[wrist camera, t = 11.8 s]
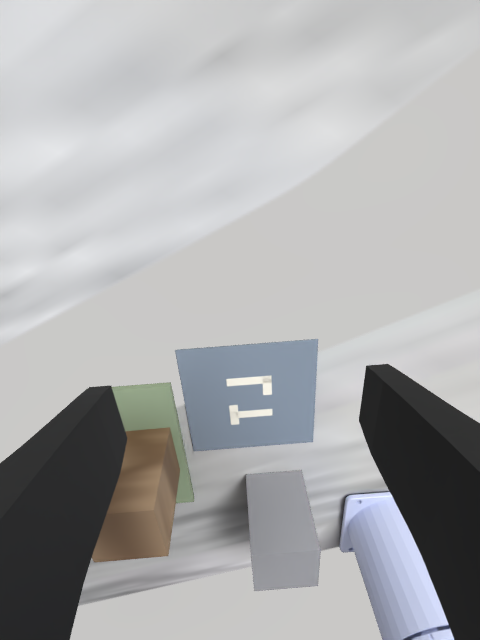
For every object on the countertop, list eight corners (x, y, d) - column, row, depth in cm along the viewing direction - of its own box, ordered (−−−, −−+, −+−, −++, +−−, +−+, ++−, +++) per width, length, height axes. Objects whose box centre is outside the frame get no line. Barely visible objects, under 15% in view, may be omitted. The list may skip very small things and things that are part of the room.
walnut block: (169, 427, 23) (153, 510, 18) (180, 470, 25) (168, 555, 20) (106, 432, 23) (71, 517, 18) (121, 475, 25) (94, 562, 20)
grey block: (301, 469, 27) (320, 550, 21) (300, 504, 29) (317, 585, 23) (245, 474, 27) (251, 555, 21) (248, 508, 29) (254, 591, 23)
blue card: (317, 339, 21) (318, 339, 21) (312, 440, 25) (312, 442, 25) (175, 349, 21) (175, 350, 21) (193, 450, 25) (193, 451, 25)
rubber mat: (170, 382, 22) (169, 386, 22) (194, 497, 27) (193, 501, 27) (86, 389, 22) (84, 393, 22) (127, 502, 27) (125, 507, 27)
